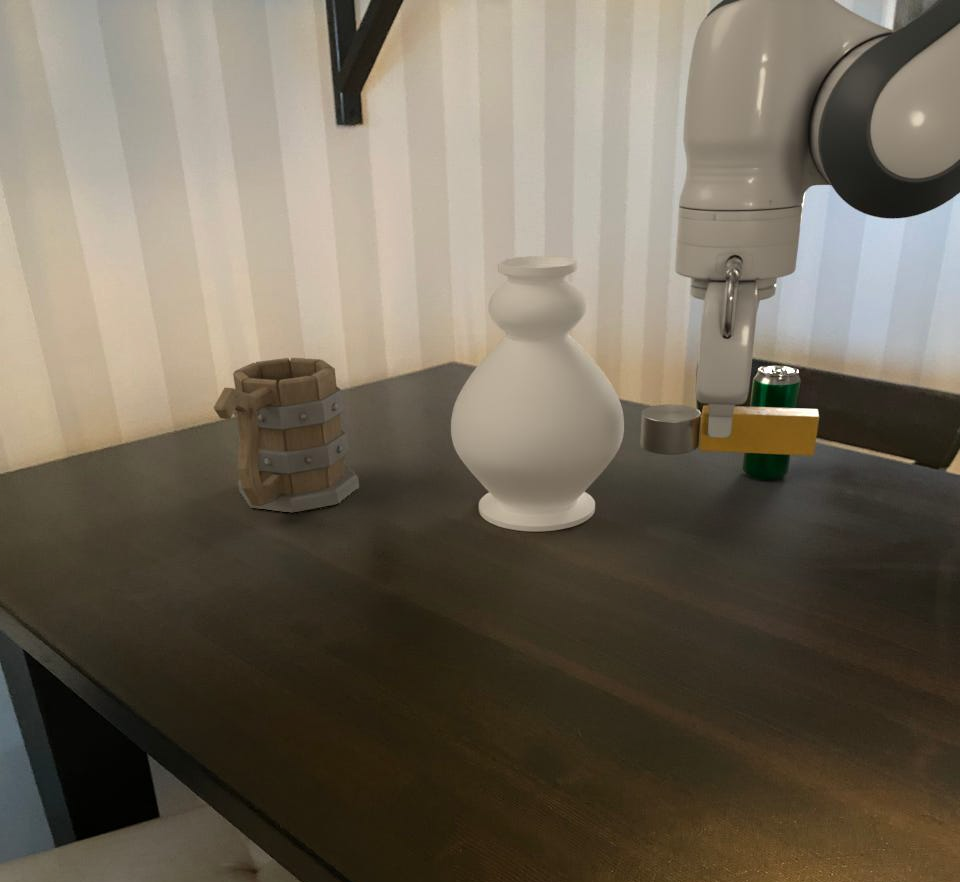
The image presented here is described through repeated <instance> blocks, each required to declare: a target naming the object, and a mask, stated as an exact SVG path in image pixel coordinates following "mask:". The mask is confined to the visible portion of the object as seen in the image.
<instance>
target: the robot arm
mask: <svg viewBox="0 0 960 882" xmlns="http://www.w3.org/2000/svg"><path fill="white" fill-rule="evenodd" d="M685 96H686V97H685V106H684V116H683V117H684V118H683V133H682V134H683V136H682V137H683V138H682V141H683V148H684V150H685V151H684V152H685V159H686V173H685V180H684V183H683V187H682V190H681V192H680V196H679V200H678V201H679V202H678V217H677V233H676V248H675V263H674V264H675V265H674V267H675V268H674V271H675V273H676V274H677V275H679V276H681V277H685V278H688V279H690V289H689V290H690V291H689V294H690V296H691V297H693V298H694V299H697V300H701V301H703V304H702V312H701V313H702V314H701V323H700V334H699V344H698V345H699V346H698V358H697V370H696V372H697V373H696V381H695V383H696V384H695V396H696V400H697V402H699V403H700V404H704V405H709V422H708V435H709V436H710V437H712V438H727V437H729V436H730V434H731V427H732V417H733V412H734V407H735V406H739V405H743V404H745V403H746V401H747V400H748V397H749V393H750V392H749V391H750V385H751V374H752V365H753V364H752V363H753V354H754V344H755V335H756V325H757V315H758V309H759V306H760V301H763V300H767V299H770V298H772V297H774V296H775V295H776V287H777V280H778V278H783V277H787V276H789V275H792V274H794V273H795V272H796V269H797V260H798V253H799V243H800V234H801V227H802V219H803V210H804V202H805V195H806V192H807V191H808V190H809V189H810V188H811V187H813V186H831V187H832V189H833V190H834V192H835V193H836V194H837V195H838V196H839V197H840V199H842V200H843V201H844V203H846V204H847V205H848V206H850V207H851V208H853V209H855V210H857V211H858V212H860V213H863V214H864V215H867V216H872V217H874V218H880V219H890V220H891V219H905V218H911V217H916V216H918V215H919V216H920V215H922V214H925V213H928V212H931V211H933V210H935V209H937V208H939V207H941V206H943V205H944V204H946V203H947V202H949V201H951V200H952V199H954V198H955V197H956V196H957V195H959V194H960V0H937V1H935V2H934V3H933V4H932V5H930V7H928V8H927V9H926V10H925V11H924V12H922V13H921V14H920V15H918V16H917V17H915V18H914V19H912V20H911V21H910V22H908V23H907V24H905V25H903V26H902V27H900V28H899V29H896V30H894V29H891V28H888V27H885V26H883V25H880V24H878V23H876V22H873V21H872V20H869V19H867V18H865V17H863V16H861V15H859V14H857V13H855V12H854V11H852V10H850V9H848V8H847V7H845V6H844V5H842V4H841V3H839V2H838V1H837V0H721V1H720V2H719V3H718V4H716V5H715V6H714V7H713V8H712V9H710V11H708V13H707V14H706V16H705V18H704V19H703V20H702V21H701V22H700V25H699V26H698V29H697V32H696V35H695V38H694V43H693V47H692V52H691V57H690V63H689V69H688V78H687V85H686V95H685Z"/></svg>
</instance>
